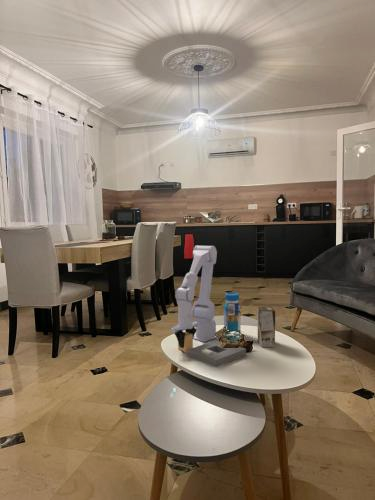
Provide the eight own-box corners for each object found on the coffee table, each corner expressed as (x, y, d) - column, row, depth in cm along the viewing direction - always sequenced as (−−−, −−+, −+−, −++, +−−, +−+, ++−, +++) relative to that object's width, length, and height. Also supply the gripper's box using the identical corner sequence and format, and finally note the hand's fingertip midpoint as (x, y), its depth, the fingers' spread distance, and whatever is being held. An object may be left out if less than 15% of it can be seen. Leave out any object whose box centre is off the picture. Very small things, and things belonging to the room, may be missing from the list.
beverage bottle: (220, 333, 178) (219, 293, 176) (232, 330, 183) (232, 291, 181) (232, 337, 171) (231, 296, 169) (244, 334, 176) (244, 293, 174)
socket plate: (217, 345, 161) (217, 337, 161) (245, 354, 149) (245, 346, 149) (188, 355, 149) (187, 347, 149) (216, 366, 137) (216, 358, 137)
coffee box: (275, 347, 157) (275, 311, 156) (260, 347, 157) (260, 311, 156) (271, 340, 166) (271, 306, 165) (257, 340, 167) (257, 306, 165)
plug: (185, 346, 159) (184, 331, 159) (192, 349, 155) (192, 333, 155) (178, 349, 156) (178, 333, 156) (185, 352, 153) (185, 335, 152)
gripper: (178, 320, 147) (178, 352, 148) (203, 313, 157) (203, 344, 158) (167, 316, 152) (168, 348, 153) (192, 310, 162) (192, 340, 163)
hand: (185, 345), depth 156 cm, fingers closed on plug, 4 cm apart
